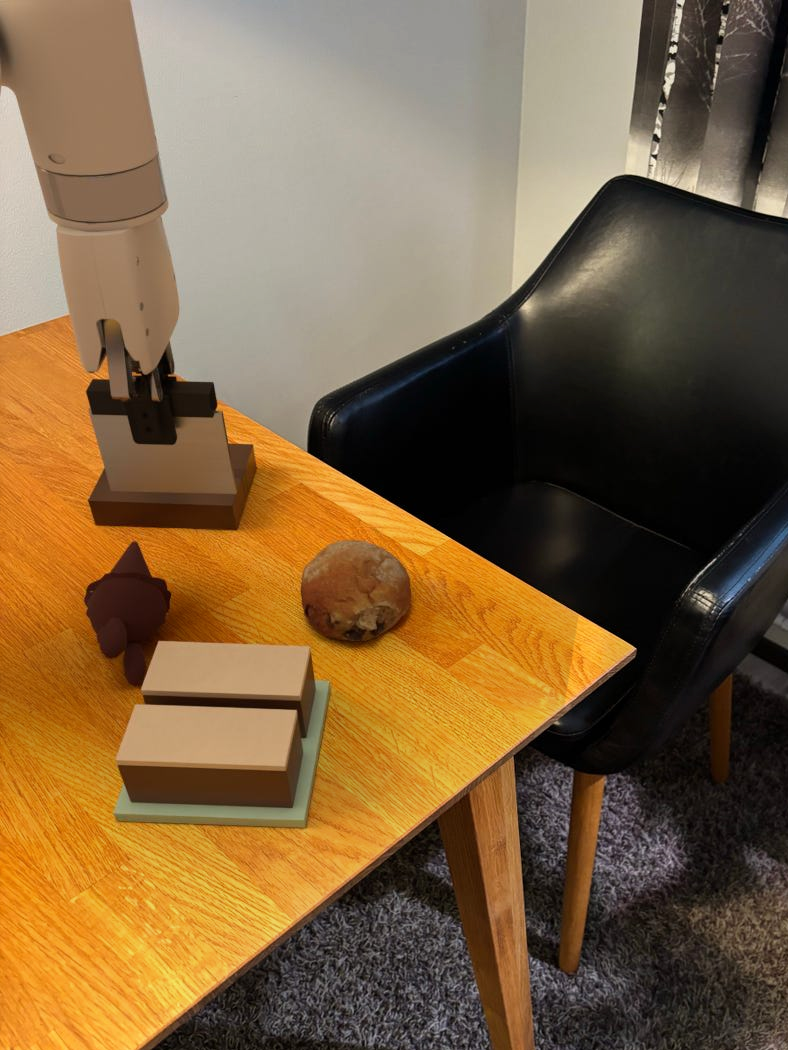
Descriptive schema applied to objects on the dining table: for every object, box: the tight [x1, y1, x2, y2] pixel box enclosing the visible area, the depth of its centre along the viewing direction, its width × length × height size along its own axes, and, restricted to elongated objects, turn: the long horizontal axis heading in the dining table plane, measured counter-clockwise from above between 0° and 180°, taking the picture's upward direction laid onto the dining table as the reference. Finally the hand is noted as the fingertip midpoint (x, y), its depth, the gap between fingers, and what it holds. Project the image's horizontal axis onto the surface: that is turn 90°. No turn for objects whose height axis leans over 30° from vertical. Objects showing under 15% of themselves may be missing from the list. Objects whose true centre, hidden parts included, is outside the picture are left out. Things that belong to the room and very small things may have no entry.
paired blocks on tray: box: [112, 640, 332, 829], centre depth 77 cm, size 14×14×6 cm
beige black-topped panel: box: [85, 378, 237, 494], centre depth 77 cm, size 10×2×10 cm, turn 90°
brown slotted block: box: [87, 442, 258, 531], centre depth 101 cm, size 14×11×3 cm
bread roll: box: [300, 539, 412, 643], centre depth 90 cm, size 10×10×8 cm
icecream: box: [83, 540, 173, 686], centre depth 86 cm, size 7×7×15 cm
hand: (159, 431), depth 77 cm, fingers closed on beige black-topped panel, 1 cm apart
